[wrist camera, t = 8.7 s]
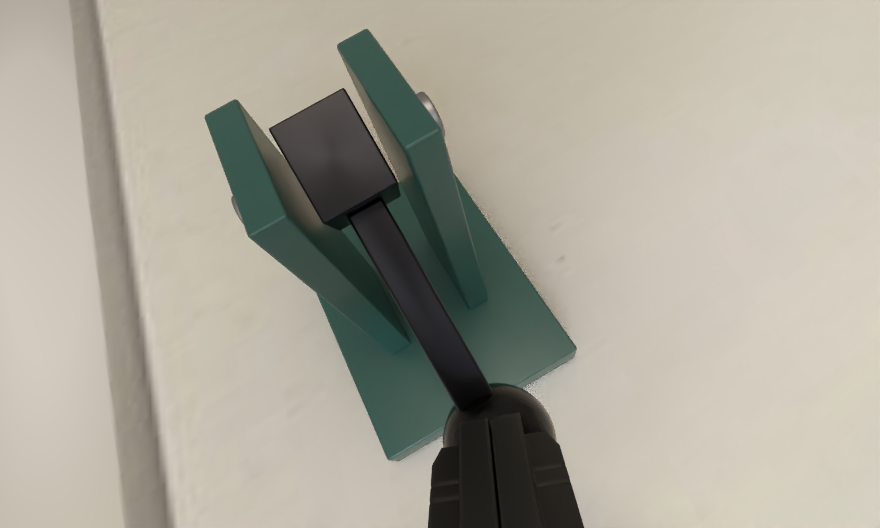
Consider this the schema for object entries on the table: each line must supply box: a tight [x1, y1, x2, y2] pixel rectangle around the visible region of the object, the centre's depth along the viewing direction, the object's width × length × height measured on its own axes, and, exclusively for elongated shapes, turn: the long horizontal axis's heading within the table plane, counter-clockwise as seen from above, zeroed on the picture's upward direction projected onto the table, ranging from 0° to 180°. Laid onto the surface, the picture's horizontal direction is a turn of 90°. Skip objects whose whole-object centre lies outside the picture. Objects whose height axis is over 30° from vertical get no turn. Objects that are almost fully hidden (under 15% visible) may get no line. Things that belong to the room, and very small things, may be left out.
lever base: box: [205, 29, 577, 461], centre depth 17 cm, size 12×9×13 cm
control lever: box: [269, 88, 556, 448], centre depth 13 cm, size 12×3×3 cm, turn 28°
